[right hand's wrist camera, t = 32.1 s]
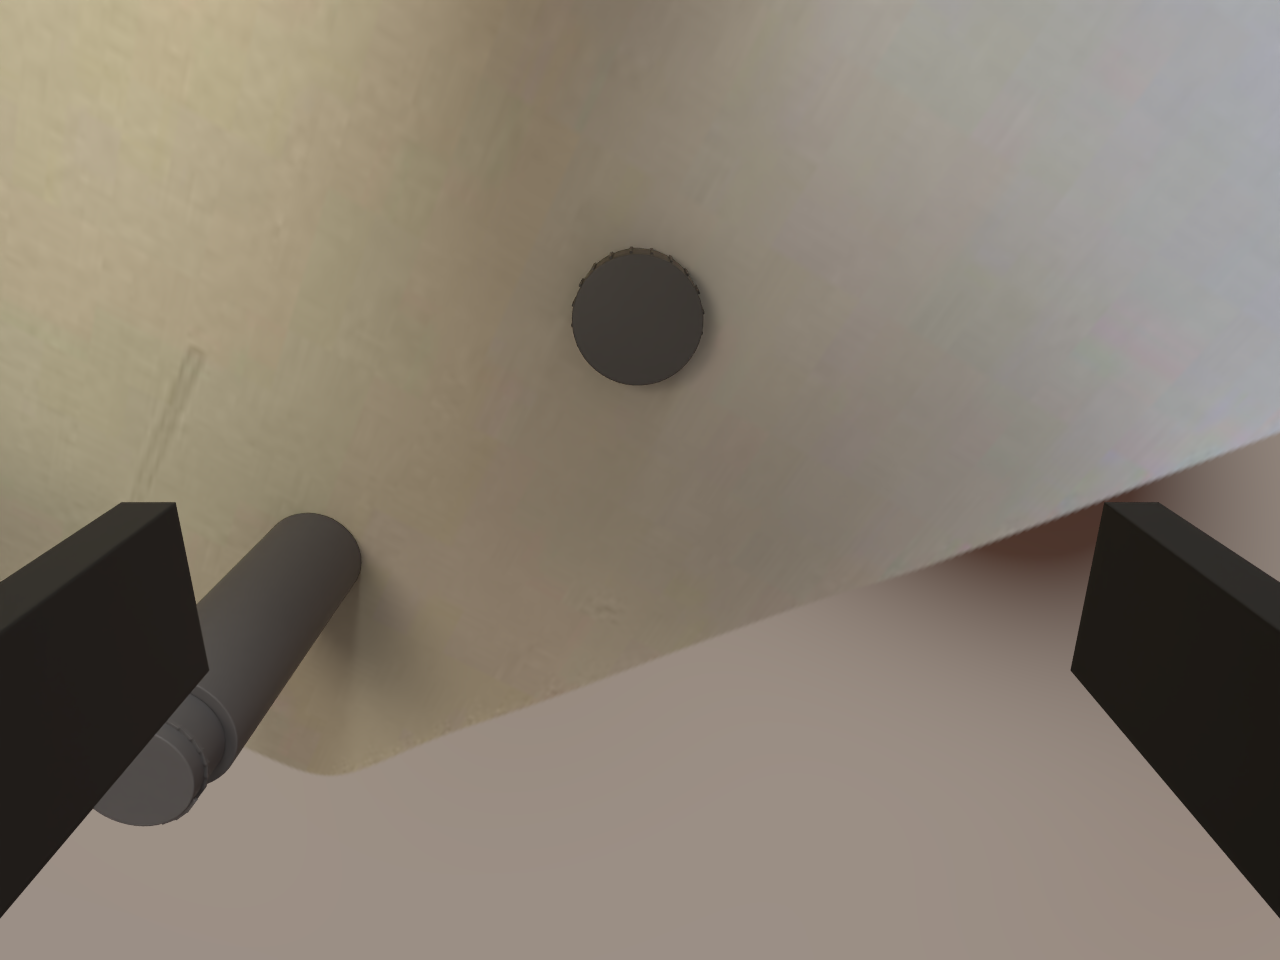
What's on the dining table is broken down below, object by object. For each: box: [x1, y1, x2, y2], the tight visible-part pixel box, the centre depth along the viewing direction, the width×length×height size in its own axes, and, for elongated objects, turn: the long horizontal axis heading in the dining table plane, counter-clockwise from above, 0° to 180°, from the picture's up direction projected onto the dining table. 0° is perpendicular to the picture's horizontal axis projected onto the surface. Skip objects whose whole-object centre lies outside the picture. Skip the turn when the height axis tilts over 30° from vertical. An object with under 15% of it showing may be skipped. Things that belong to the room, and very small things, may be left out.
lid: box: [571, 247, 704, 385], centre depth 36 cm, size 5×5×2 cm
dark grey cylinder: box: [93, 513, 361, 826], centre depth 34 cm, size 4×4×16 cm
